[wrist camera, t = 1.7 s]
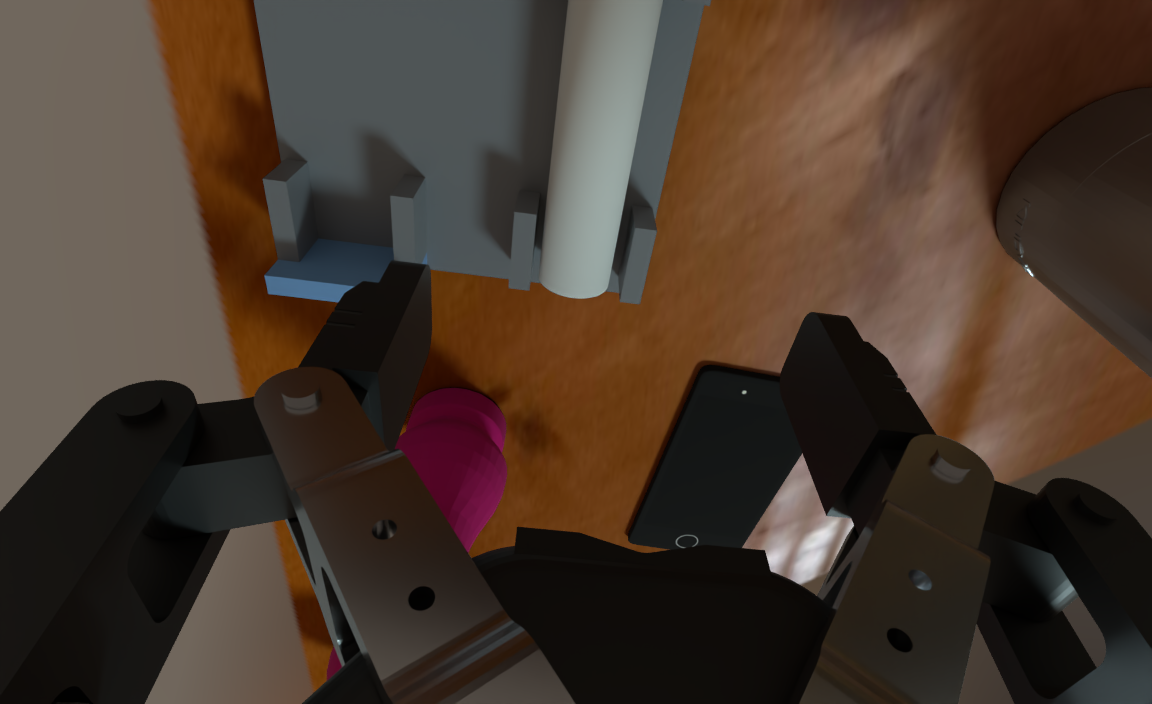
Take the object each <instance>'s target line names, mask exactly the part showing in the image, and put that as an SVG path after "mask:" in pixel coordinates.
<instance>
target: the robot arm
mask: <svg viewBox="0 0 1152 704" xmlns="http://www.w3.org/2000/svg"><path fill="white" fill-rule="evenodd" d="M996 228H997V232H998V237H999V241H1000V243H1001V244H1002V246H1003V248H1004V249H1005V251H1006V252H1007V254H1008V255H1010V256H1011V257H1012V258H1013V259H1014V260H1015V261H1017V262H1018V263H1019V264H1020V265H1021V266H1022V267H1023V268H1024V269H1025V271H1026V272H1027V273H1028V274H1030V275H1031V276H1032V277H1033V276H1034V277H1035V278H1036V279H1037V280H1038V281H1039V282H1041V283H1042V284H1043V285H1044V286H1045V287H1046V288H1048V289H1049V290H1050V291H1051V292H1052V293H1053V294H1054V295H1055V296H1056V297H1058V298H1059V299H1060V300H1061V301H1062V302H1063V303H1064V304H1066V305H1067V306H1068V307H1069V308H1070V309H1071V310H1073V311H1074V312H1075V313H1076V314H1077V315H1078V316H1080V317H1081V318H1082V319H1083V320H1084V321H1085V322H1087V323H1088V324H1089V325H1090V326H1091V327H1092V328H1094V329H1095V330H1096V331H1097V332H1098V333H1099V334H1101V335H1102V336H1103V337H1104V338H1105V339H1106V340H1108V341H1109V342H1110V343H1111V344H1112V345H1113V346H1115V347H1116V348H1117V349H1118V350H1119V351H1120V352H1122V353H1123V354H1124V355H1125V356H1126V357H1127V358H1129V359H1130V360H1131V361H1132V362H1133V363H1134V364H1136V365H1137V366H1138V367H1139V368H1140V369H1141V370H1143V371H1144V372H1145V373H1146V374H1147V375H1148V376H1150V377H1151V378H1152V88H1139V89H1135V90H1130V91H1125V92H1121V93H1116V94H1114V95H1111V96H1109V97H1106V98H1104V99H1101V100H1099V101H1096V102H1094V103H1091V104H1090V105H1088V106H1086V107H1084V108H1083V109H1081V110H1079V111H1077V112H1076V113H1074V114H1072V115H1070V116H1068V117H1067V118H1066V119H1064V120H1063V121H1062V122H1060V123H1059V124H1058V125H1056V126H1055V127H1054V128H1053V129H1051V130H1050V131H1049V132H1047V133H1046V134H1045V135H1044V136H1043V137H1042V138H1041V139H1040V140H1039V141H1038V142H1037V143H1036V144H1035V145H1034V146H1033V147H1032V148H1031V149H1030V150H1029V151H1028V152H1027V153H1026V154H1025V156H1024V157H1023V158H1022V160H1021V161H1020V162H1019V164H1018V165H1017V166H1016V168H1015V169H1014V171H1013V172H1012V174H1011V176H1010V178H1009V180H1008V182H1007V183H1006V185H1005V187H1004V189H1003V191H1002V195H1001V198H1000V201H999V205H998V208H997V220H996ZM431 335H432V307H431V272H430V267H429V265H428V264H420V263H411V262H403V261H395V260H392V261H391V262H390V263H389V265H388V267H387V268H386V270H385V272H384V274H383V276H382V278H381V279H380V281H379V283H377V282H369V281H362V282H361V283H359V284H358V285H356V286H354V287H353V288H351V289H350V290H348V291H347V292H345V293H344V294H343V296H342V298H341V299H340V301H339V302H338V304H337V306H336V307H335V311H334V312H332V314H331V315H330V317H329V319H328V320H327V324H326V325H324V327H323V328H322V330H321V331H320V333H319V335H318V336H317V338H316V339H315V341H314V343H313V344H312V346H311V347H310V349H309V351H308V352H307V354H306V355H305V357H304V359H303V360H302V362H301V364H300V365H299V367H298V368H294V369H289V370H286V371H283V372H281V373H278V374H276V375H274V376H272V377H271V378H269V379H268V380H266V381H265V382H264V383H263V384H262V385H261V386H260V387H259V388H258V390H257V392H256V393H255V396H254V397H251V398H246V399H239V400H231V401H222V402H213V403H205V404H197V401H196V399H195V396H194V393H193V392H192V391H191V390H190V389H189V388H188V387H186V386H185V385H182V384H180V383H177V382H173V381H165V380H155V381H145V382H140V383H136V384H132V385H128V386H126V387H123V388H120V389H118V390H116V391H114V392H112V393H110V394H108V395H106V396H105V397H103V398H102V399H101V400H99V401H98V402H97V403H96V404H95V405H94V406H93V407H92V408H91V409H90V410H89V411H88V412H87V413H86V414H85V416H84V417H83V418H82V419H81V420H80V421H79V422H78V423H77V425H76V426H75V427H74V428H73V429H72V430H71V432H70V433H69V434H68V435H67V436H66V437H65V438H64V440H63V441H62V442H61V443H60V444H59V445H58V446H57V447H56V449H55V450H54V451H53V452H52V453H51V454H50V455H49V457H48V458H47V459H46V460H45V461H44V462H43V464H42V465H41V466H40V467H39V468H38V469H37V470H36V471H35V473H34V474H33V475H32V476H31V477H30V478H29V479H28V480H27V482H26V483H25V484H24V485H23V486H22V487H21V488H20V490H19V491H18V492H17V493H16V494H15V495H14V496H13V498H12V499H11V500H10V501H9V502H8V503H7V504H6V506H5V507H4V508H3V509H2V510H1V511H0V704H145V702H146V700H147V698H148V695H149V694H150V692H151V690H152V688H153V686H154V684H155V681H156V679H157V677H158V675H159V673H160V671H161V669H162V667H163V665H164V663H165V661H166V659H167V657H168V655H169V653H170V651H171V649H172V647H173V645H174V643H175V641H176V639H177V637H178V635H179V633H180V631H181V629H182V627H183V624H184V623H185V620H186V618H187V616H188V614H189V612H190V610H191V608H192V606H193V604H194V602H195V600H196V598H197V596H198V594H199V592H200V590H201V588H202V586H203V584H204V582H205V580H206V578H207V576H208V574H209V572H210V570H211V568H212V566H213V563H214V562H215V560H216V558H217V555H218V554H219V551H220V549H221V547H222V545H223V543H224V541H225V539H226V537H227V535H228V533H229V531H230V529H233V528H239V527H245V526H250V525H256V524H262V523H268V522H273V521H279V520H285V521H286V523H287V526H288V528H289V530H290V533H291V535H292V538H293V540H294V543H295V545H296V548H297V550H298V552H299V555H300V557H301V560H302V562H303V565H304V567H305V570H306V572H307V574H308V577H309V579H310V582H311V584H312V587H313V589H314V591H315V594H316V596H317V599H318V602H319V604H320V607H321V610H322V613H323V616H324V619H325V622H326V625H327V628H328V631H329V634H330V637H331V640H332V642H333V645H334V648H335V650H336V653H337V655H338V658H339V660H340V663H341V665H342V668H341V669H339V670H338V671H337V672H336V673H335V674H334V675H333V676H332V677H331V678H330V679H328V680H327V681H326V682H325V683H324V684H323V685H322V686H321V687H320V688H319V689H317V690H316V691H315V692H314V693H313V694H312V695H311V696H310V697H309V698H308V699H306V700H305V702H303V703H302V704H958V702H959V698H960V693H961V689H962V685H963V681H964V676H965V671H966V668H967V663H968V659H969V654H970V650H971V646H972V642H973V637H974V633H975V629H976V624H977V625H978V627H979V630H980V632H981V634H982V636H983V638H984V640H985V642H986V644H987V646H988V649H989V651H990V653H991V655H992V657H993V659H994V661H995V663H996V665H997V667H998V670H999V672H1000V674H1001V676H1002V678H1003V680H1004V682H1005V684H1006V687H1007V689H1008V691H1009V693H1010V695H1011V697H1012V699H1013V701H1014V703H1015V704H1152V538H1151V537H1150V536H1149V535H1148V533H1147V532H1146V531H1145V530H1144V528H1143V527H1142V526H1141V525H1140V524H1139V522H1138V521H1137V520H1136V519H1135V517H1134V516H1133V515H1132V514H1131V513H1130V512H1129V511H1128V510H1127V509H1126V508H1125V507H1124V506H1123V505H1122V504H1120V503H1119V502H1118V501H1116V500H1115V499H1114V498H1112V497H1111V496H1109V495H1108V494H1106V493H1104V492H1103V491H1101V490H1099V489H1097V488H1095V487H1093V486H1091V485H1089V484H1086V483H1084V482H1081V481H1077V480H1074V479H1069V478H1056V479H1052V480H1051V481H1049V482H1048V483H1047V484H1046V485H1045V486H1044V487H1043V488H1042V489H1041V491H1040V492H1039V493H1038V494H1037V495H1036V494H1033V493H1030V492H1027V491H1024V490H1021V489H1018V488H1015V487H1012V486H1009V485H1006V484H1003V483H1000V482H997V481H994V476H993V474H992V472H991V470H990V468H989V467H988V466H987V464H986V463H985V462H984V461H983V460H982V459H981V458H980V457H979V456H978V455H977V454H975V453H974V452H973V451H971V450H970V449H968V448H967V447H965V446H964V445H962V444H960V443H958V442H956V441H954V440H951V439H948V438H946V437H942V436H938V435H936V433H935V432H934V430H933V429H932V427H931V426H930V424H929V423H928V421H927V419H926V418H925V416H924V415H923V413H922V412H921V410H920V409H919V407H918V405H917V404H916V402H915V401H914V399H913V398H912V396H911V395H910V393H909V392H906V390H907V388H906V387H905V385H904V384H903V382H902V381H901V379H900V378H897V377H898V374H897V373H896V371H895V370H894V368H893V367H892V365H891V363H890V362H889V360H888V359H887V358H886V357H885V356H884V355H883V354H882V353H881V352H879V351H878V350H877V349H876V348H875V347H873V346H872V345H871V344H870V343H869V342H865V341H863V339H862V338H861V336H860V335H859V333H858V331H857V330H856V328H855V326H854V325H853V323H852V322H851V320H850V319H849V318H848V317H846V316H840V315H832V314H824V313H816V312H811V313H809V314H808V315H807V316H806V317H805V318H804V320H803V322H802V324H801V327H800V329H799V331H798V333H797V336H796V338H795V340H794V343H793V345H792V347H791V349H790V352H789V354H788V356H787V359H786V361H785V363H784V366H783V368H782V371H781V375H780V395H781V398H782V400H783V403H784V406H785V408H786V411H787V414H788V416H789V419H790V421H791V424H792V427H793V429H794V432H795V435H796V437H797V440H798V442H799V445H800V448H801V450H802V453H803V456H804V458H805V461H806V463H807V466H808V469H809V471H810V474H811V477H812V479H813V482H814V484H815V487H816V490H817V492H818V495H819V498H820V500H821V503H822V506H823V508H824V511H825V513H826V516H834V517H844V518H852V521H853V523H854V526H853V528H852V529H851V531H850V532H849V534H848V535H847V537H846V539H845V541H844V543H843V545H842V547H841V549H840V551H839V553H838V555H837V557H836V559H835V561H834V563H833V565H832V567H831V569H830V571H829V573H828V575H827V577H826V579H825V581H824V583H823V585H822V587H821V589H820V591H819V593H818V595H817V596H816V595H815V594H813V593H812V592H810V591H809V590H807V589H806V588H804V587H803V586H801V585H799V584H797V583H795V582H794V581H792V580H790V579H788V578H785V577H783V576H781V575H779V574H776V573H774V572H771V571H770V568H769V564H768V560H767V556H766V553H765V550H755V549H745V548H734V547H724V546H713V545H700V546H693V547H686V548H680V549H673V550H666V551H659V552H652V553H641V552H637V551H634V550H631V549H628V548H625V547H622V546H619V545H616V544H612V543H609V542H606V541H603V540H600V539H597V538H594V537H591V536H588V535H585V534H582V533H577V532H567V531H556V530H546V529H535V528H525V527H517V534H516V542H515V546H511V547H505V548H500V549H496V550H492V551H489V552H486V553H483V554H481V555H478V556H476V557H473V558H471V557H470V555H469V554H468V552H467V551H466V549H465V548H464V546H463V544H462V543H461V541H460V540H459V538H458V537H457V535H456V533H455V532H454V530H453V529H452V527H451V525H450V524H449V522H448V521H447V519H446V518H445V516H444V514H443V513H442V511H441V510H440V508H439V507H438V505H437V503H436V502H435V500H434V499H433V497H432V496H431V494H430V492H429V491H428V489H427V488H426V486H425V484H424V483H423V481H422V480H421V478H420V477H419V475H418V473H417V472H416V470H415V469H414V467H413V466H412V464H411V462H410V461H409V459H408V458H407V456H406V455H405V454H404V453H403V452H402V451H401V450H400V449H395V447H396V444H397V441H398V438H399V435H400V433H401V430H402V427H403V424H404V421H405V418H406V416H407V413H408V410H409V407H410V404H411V402H412V399H413V396H414V393H415V390H416V388H417V385H418V382H419V379H420V376H421V373H422V371H423V368H424V365H425V362H426V359H427V357H428V353H429V349H430V344H431ZM1078 596H1079V597H1080V599H1081V600H1082V602H1083V603H1084V605H1085V606H1086V608H1087V610H1088V611H1089V613H1090V614H1091V616H1092V617H1093V619H1094V620H1095V622H1096V624H1097V625H1098V627H1099V628H1100V630H1101V632H1102V633H1103V636H1104V639H1105V643H1106V656H1105V659H1104V661H1103V663H1102V664H1101V665H1100V666H1099V667H1098V668H1096V666H1095V664H1094V663H1093V661H1092V659H1091V658H1090V656H1089V654H1088V653H1087V651H1086V650H1085V648H1084V646H1083V644H1082V643H1081V641H1080V639H1079V638H1078V636H1077V635H1076V633H1075V631H1074V629H1073V628H1072V626H1071V624H1070V623H1069V621H1068V619H1067V618H1066V616H1065V615H1064V613H1063V611H1062V610H1063V609H1064V608H1065V607H1067V606H1068V605H1069V604H1070V603H1071V602H1072V601H1074V600H1075V599H1076V598H1077V597H1078Z"/></svg>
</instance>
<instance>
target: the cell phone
mask: <svg viewBox="0 0 1152 704" xmlns="http://www.w3.org/2000/svg"><path fill="white" fill-rule="evenodd" d="M801 454H802V450H801V448H800V445H799V442H798V440H797V437H796V435H795V432H794V429H793V427H792V424H791V421H790V419H789V416H788V414H787V411H786V408H785V406H784V403H783V400H782V398H781V395H780V377H777V376H771V375H766V374H760V373H755V372H749V371H744V370H738V369H733V368H727V367H722V366H715V365H706V366H703V367H702V368H701V369H700V370H699V372H698V374H697V377H696V379H695V381H694V384H693V386H692V388H691V390H690V393H689V395H688V397H687V400H686V402H685V404H684V407H683V409H682V411H681V414H680V416H679V418H678V420H677V423H676V425H675V427H674V430H673V432H672V434H671V437H670V439H669V441H668V443H667V446H666V448H665V450H664V453H663V455H662V457H661V460H660V462H659V464H658V467H657V469H656V471H655V473H654V476H653V478H652V480H651V483H650V485H649V487H648V490H647V492H646V494H645V497H644V499H643V501H642V503H641V506H640V508H639V510H638V513H637V515H636V517H635V520H634V522H633V524H632V526H631V529H630V531H629V533H628V541H629V542H630V543H632V544H636V545H643V546H650V547H656V548H663V549H670V550H673V549H680V548H686V547H693V546H700V545H713V546H724V547H734V548H742V546H743V545H744V543H745V542H746V540H747V539H748V537H749V536H750V534H751V532H752V531H753V529H754V528H755V526H756V525H757V523H758V521H759V520H760V518H761V517H762V515H763V514H764V512H765V511H766V509H767V507H768V506H769V504H770V503H771V501H772V500H773V498H774V496H775V495H776V493H777V492H778V490H779V489H780V487H781V486H782V484H783V482H784V481H785V479H786V478H787V476H788V475H789V473H790V471H791V470H792V468H793V467H794V465H795V464H796V462H797V461H798V459H799V457H800V456H801Z"/></svg>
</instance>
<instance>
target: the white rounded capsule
mask: <svg viewBox="0 0 1152 704" xmlns="http://www.w3.org/2000/svg"><path fill="white" fill-rule="evenodd" d="M662 3H663V0H568V7H567V16H566V26H565V35H564V44H563V53H562V63H561V72H560V81H559V90H558V100H557V109H556V118H555V127H554V137H553V146H552V155H551V164H550V173H549V183H548V192H547V201H546V210H545V220H544V229H543V238H542V247H541V257H540V266H539V280H540V282H541V284H542V285H543V286H544V287H545V288H547V289H548V290H550V291H552V292H554V293H556V294H559V295H562V296H565V297H570V298H591V297H595V296H598V295H600V294H602V293H603V292H605V291H606V290H607V288H608V284H609V279H610V274H611V269H612V263H613V258H614V253H615V248H616V243H617V237H618V232H619V227H620V222H621V217H622V211H623V206H624V201H625V196H626V191H627V185H628V180H629V175H630V170H631V164H632V159H633V154H634V149H635V144H636V138H637V133H638V128H639V123H640V118H641V112H642V107H643V102H644V97H645V92H646V86H647V81H648V76H649V71H650V66H651V60H652V55H653V50H654V45H655V39H656V34H657V29H658V24H659V19H660V13H661V8H662Z"/></svg>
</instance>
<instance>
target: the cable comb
mask: <svg viewBox="0 0 1152 704" xmlns="http://www.w3.org/2000/svg"><path fill="white" fill-rule="evenodd" d="M710 2H711V0H663V3H662V8H661V13H660V19H659V24H658V29H657V34H656V39H655V45H654V50H653V55H652V60H651V66H650V71H649V76H648V81H647V86H646V92H645V97H644V102H643V107H642V112H641V118H640V123H639V128H638V133H637V138H636V144H635V149H634V154H633V159H632V164H631V170H630V175H629V180H628V185H627V191H626V196H625V201H624V206H623V211H622V217H621V222H620V227H619V232H618V237H617V243H616V248H615V253H614V258H613V263H612V269H611V274H610V279H609V284H608V288H607V290H606V291H609V292H617V293H619V297H620V302H626V303H634V304H640V301H641V297H642V292H643V288H644V284H645V280H646V275H647V271H648V267H649V262H650V258H651V254H652V250H653V245H654V241H655V237H656V233H657V228H656V223H655V217H656V213H657V208H658V204H659V200H660V195H661V191H662V187H663V182H664V178H665V174H666V169H667V165H668V160H669V156H670V152H671V147H672V143H673V139H674V134H675V130H676V126H677V121H678V117H679V112H680V108H681V104H682V99H683V95H684V91H685V86H686V82H687V78H688V73H689V69H690V65H691V60H692V56H693V51H694V47H695V43H696V38H697V34H698V30H699V25H700V21H701V17H702V12H703V8H704V5H707V6H710ZM254 5H255V11H256V17H257V23H258V29H259V35H260V41H261V47H262V52H263V58H264V64H265V70H266V76H267V82H268V88H269V94H270V100H271V105H272V111H273V117H274V123H275V129H276V135H277V141H278V147H279V153H280V158H281V163H280V164H279V165H278V166H277V167H276V168H275V169H273V170H272V171H271V172H270V173H269V174H268V175H266V176H265V177H264V178H263V183H264V189H265V194H266V199H267V204H268V209H269V215H270V220H271V225H272V230H273V235H274V241H275V246H276V251H277V256H278V260H277V261H276V263H275V264H274V265H273V266H272V267H271V268H270V270H269V271H268V272H267V273H266V274H265V275H264V276H265V280H266V285H267V290H268V294H273V295H281V296H290V297H298V298H306V299H315V300H323V301H331V302H339V301H340V299H341V298H342V296H343V294H344V293H345V292H347V291H348V290H350V289H351V288H353V287H354V286H356V285H358V284H359V283H361V282H362V281H369V282H377V283H379V281H380V279H381V278H382V276H383V274H384V272H385V270H386V268H387V267H388V265H389V263H390V262H391V261H392V260H395V261H403V262H411V263H420V264H428V265H429V267H430V269H432V270H440V271H448V272H456V273H464V274H472V275H480V276H488V277H496V278H504V279H509V288H513V289H521V290H529V288H530V282H536V283H541V282H540V280H539V266H540V257H541V247H542V238H543V229H544V220H545V210H546V201H547V192H548V183H549V173H550V164H551V155H552V146H553V137H554V127H555V118H556V109H557V100H558V90H559V81H560V72H561V63H562V53H563V44H564V35H565V26H566V16H567V7H568V0H254Z"/></svg>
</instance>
